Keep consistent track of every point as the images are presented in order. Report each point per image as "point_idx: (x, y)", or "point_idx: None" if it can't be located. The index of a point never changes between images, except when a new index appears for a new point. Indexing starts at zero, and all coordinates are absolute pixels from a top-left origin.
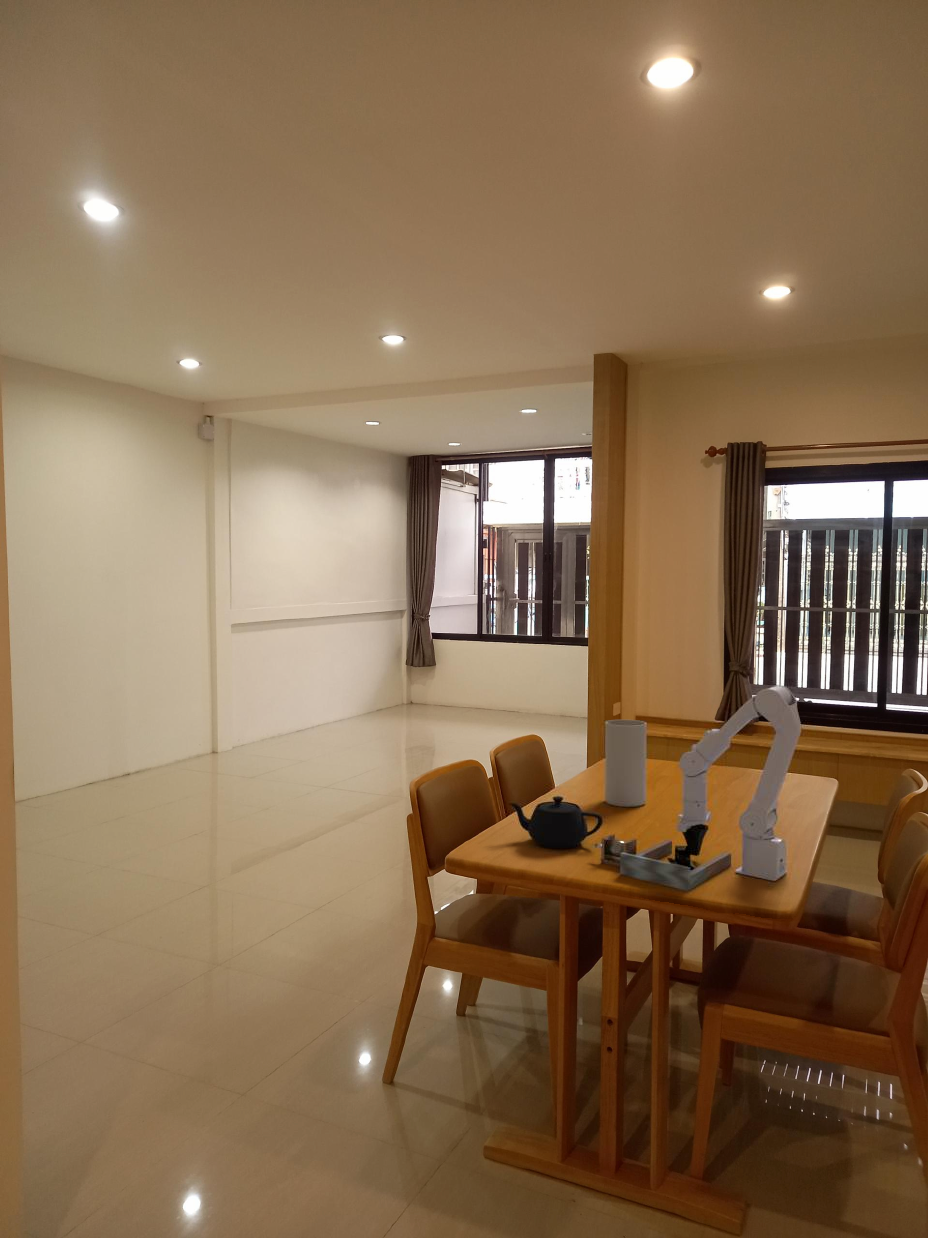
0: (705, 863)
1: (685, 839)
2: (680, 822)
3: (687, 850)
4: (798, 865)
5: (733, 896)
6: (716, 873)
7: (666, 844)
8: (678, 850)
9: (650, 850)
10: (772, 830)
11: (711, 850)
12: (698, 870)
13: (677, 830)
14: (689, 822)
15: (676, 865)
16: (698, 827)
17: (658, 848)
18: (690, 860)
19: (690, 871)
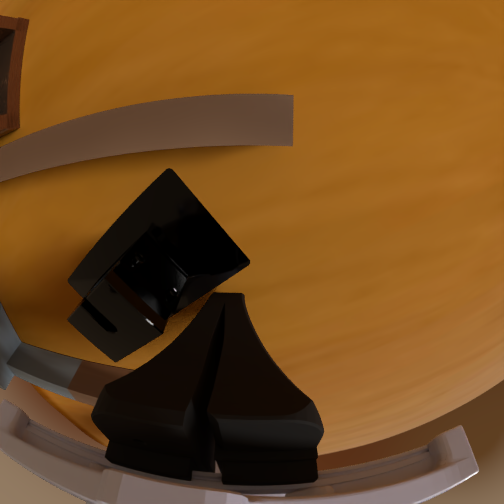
0: (95, 399)
1: (169, 345)
2: (18, 454)
3: (105, 353)
4: (359, 441)
5: (83, 412)
6: None
7: (186, 147)
8: (69, 320)
9: (13, 169)
10: None
11: (422, 283)
12: (46, 388)
13: (4, 402)
14: (65, 491)
15: None
16: (220, 472)
17: (74, 162)
18: (213, 283)
19: (25, 373)
